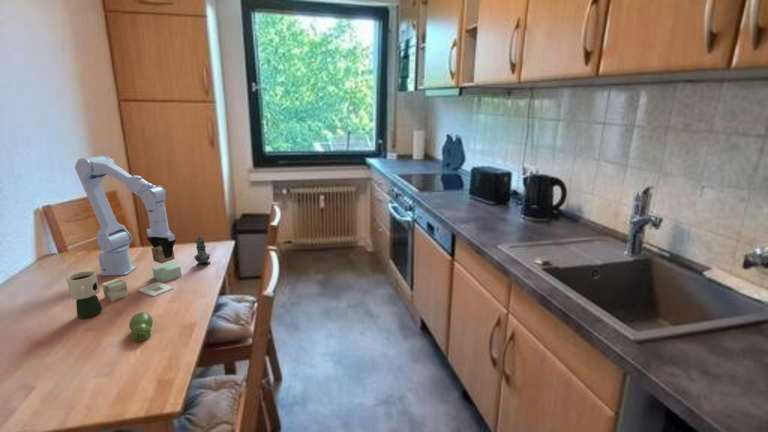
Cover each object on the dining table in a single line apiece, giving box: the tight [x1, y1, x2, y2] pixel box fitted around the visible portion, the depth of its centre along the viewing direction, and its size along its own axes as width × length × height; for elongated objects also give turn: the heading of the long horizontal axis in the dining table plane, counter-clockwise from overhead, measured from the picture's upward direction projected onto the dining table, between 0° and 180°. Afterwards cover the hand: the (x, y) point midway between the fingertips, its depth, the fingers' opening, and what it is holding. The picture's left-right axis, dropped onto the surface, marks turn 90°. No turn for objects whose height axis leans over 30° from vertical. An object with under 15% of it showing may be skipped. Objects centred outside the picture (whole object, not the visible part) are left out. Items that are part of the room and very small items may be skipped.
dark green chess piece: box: [193, 235, 211, 268], centre depth 158 cm, size 6×6×12 cm
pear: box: [128, 311, 153, 343], centre depth 111 cm, size 6×5×10 cm
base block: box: [152, 261, 182, 283], centre depth 148 cm, size 7×7×4 cm
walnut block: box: [150, 245, 176, 265], centre depth 146 cm, size 5×5×5 cm
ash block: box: [101, 278, 129, 302], centre depth 133 cm, size 5×5×5 cm
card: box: [138, 281, 174, 298], centre depth 138 cm, size 9×7×1 cm
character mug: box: [66, 270, 103, 318], centre depth 120 cm, size 11×7×13 cm, turn 34°
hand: (164, 255), depth 146 cm, fingers closed on walnut block, 5 cm apart
